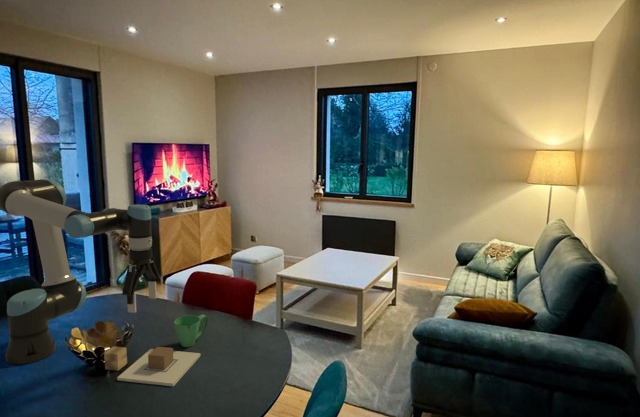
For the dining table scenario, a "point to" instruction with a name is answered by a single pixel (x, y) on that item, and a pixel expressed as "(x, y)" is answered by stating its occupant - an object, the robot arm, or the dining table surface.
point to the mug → (189, 328)
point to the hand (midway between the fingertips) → (142, 304)
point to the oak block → (115, 358)
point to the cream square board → (160, 367)
